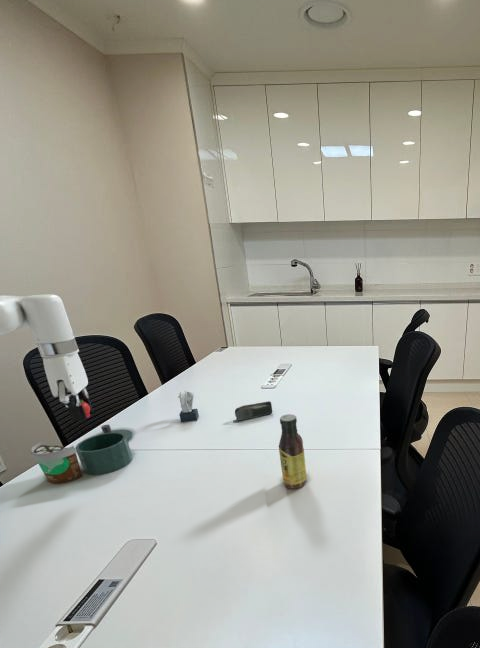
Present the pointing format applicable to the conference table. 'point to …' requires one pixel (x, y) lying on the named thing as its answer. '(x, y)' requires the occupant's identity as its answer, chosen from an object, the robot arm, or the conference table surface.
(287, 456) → the sauce bottle
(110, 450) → the pot
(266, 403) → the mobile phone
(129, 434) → the lid
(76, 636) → the conference table surface
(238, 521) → the conference table surface
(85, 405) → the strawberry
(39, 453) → the food container
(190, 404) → the stone sculpture
